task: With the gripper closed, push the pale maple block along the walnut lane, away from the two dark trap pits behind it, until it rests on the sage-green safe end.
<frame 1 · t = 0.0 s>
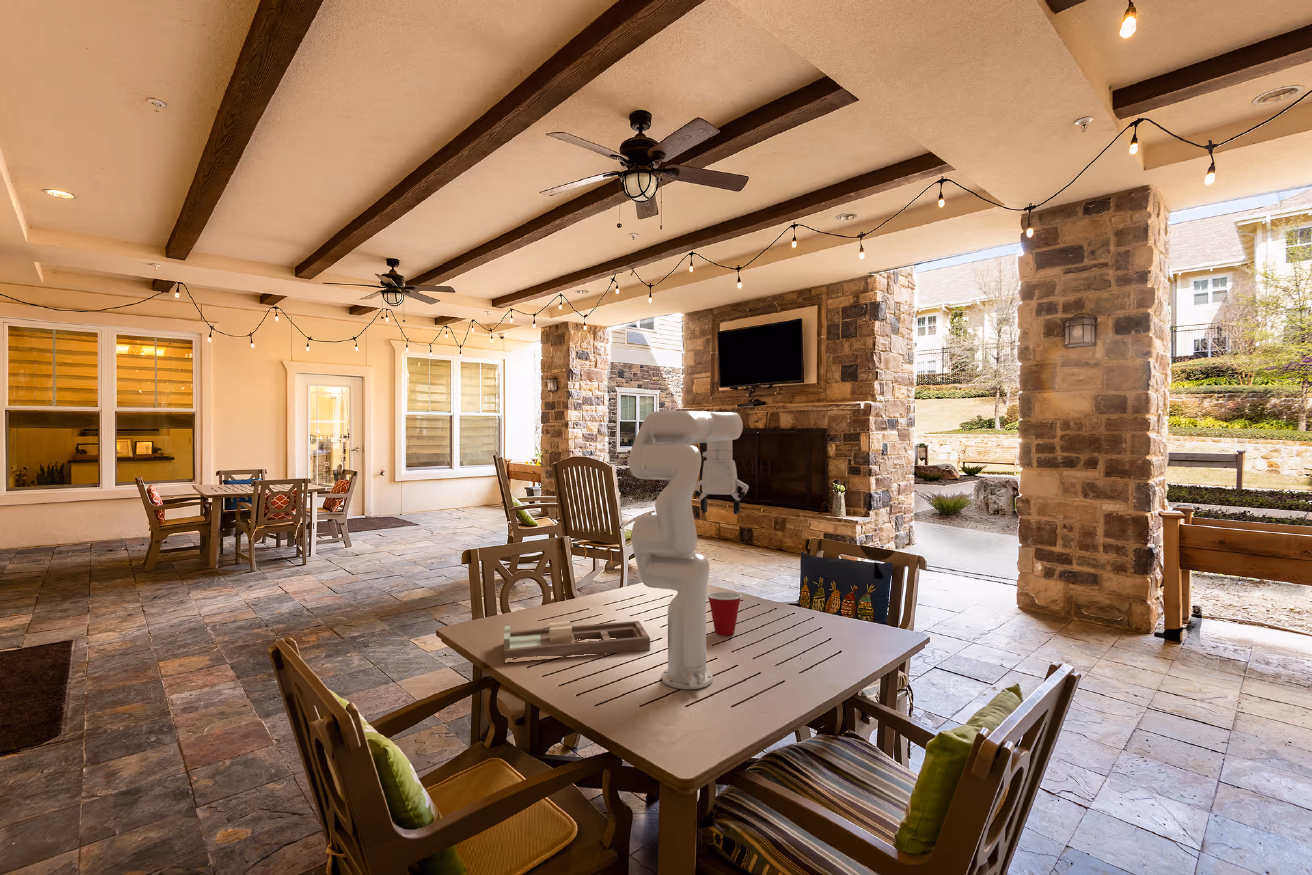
hand: (720, 513, 177), 37 cm above the table, tool pointing down, fingers open, 9 cm apart
maple block: (560, 639, 169), point 2 cm above the table, touching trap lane
plastic cup: (724, 633, 182), on the table
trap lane: (576, 646, 170), on the table
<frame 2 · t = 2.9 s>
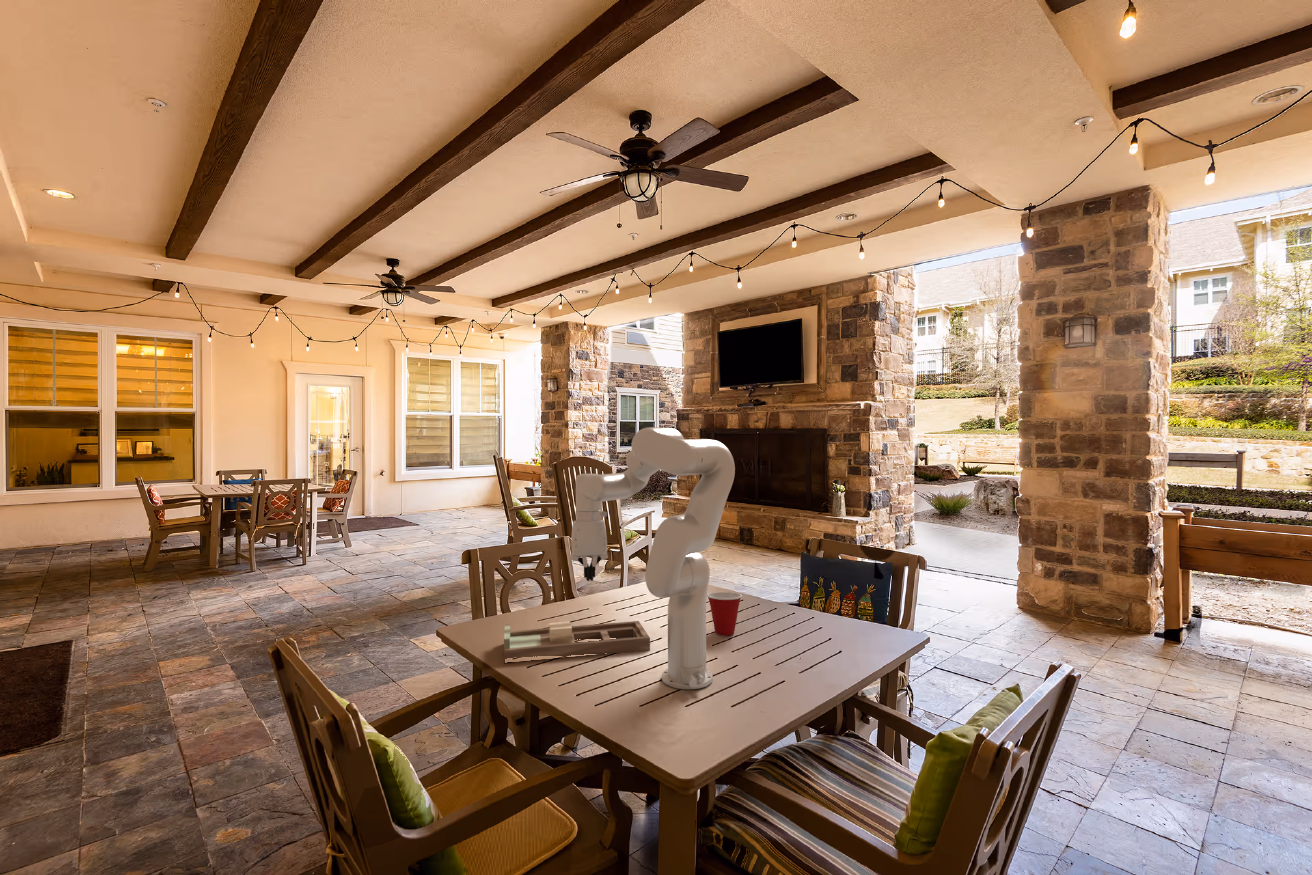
hand: (589, 579, 171), 19 cm above the table, tool pointing down, fingers closed
nothing on the table moved.
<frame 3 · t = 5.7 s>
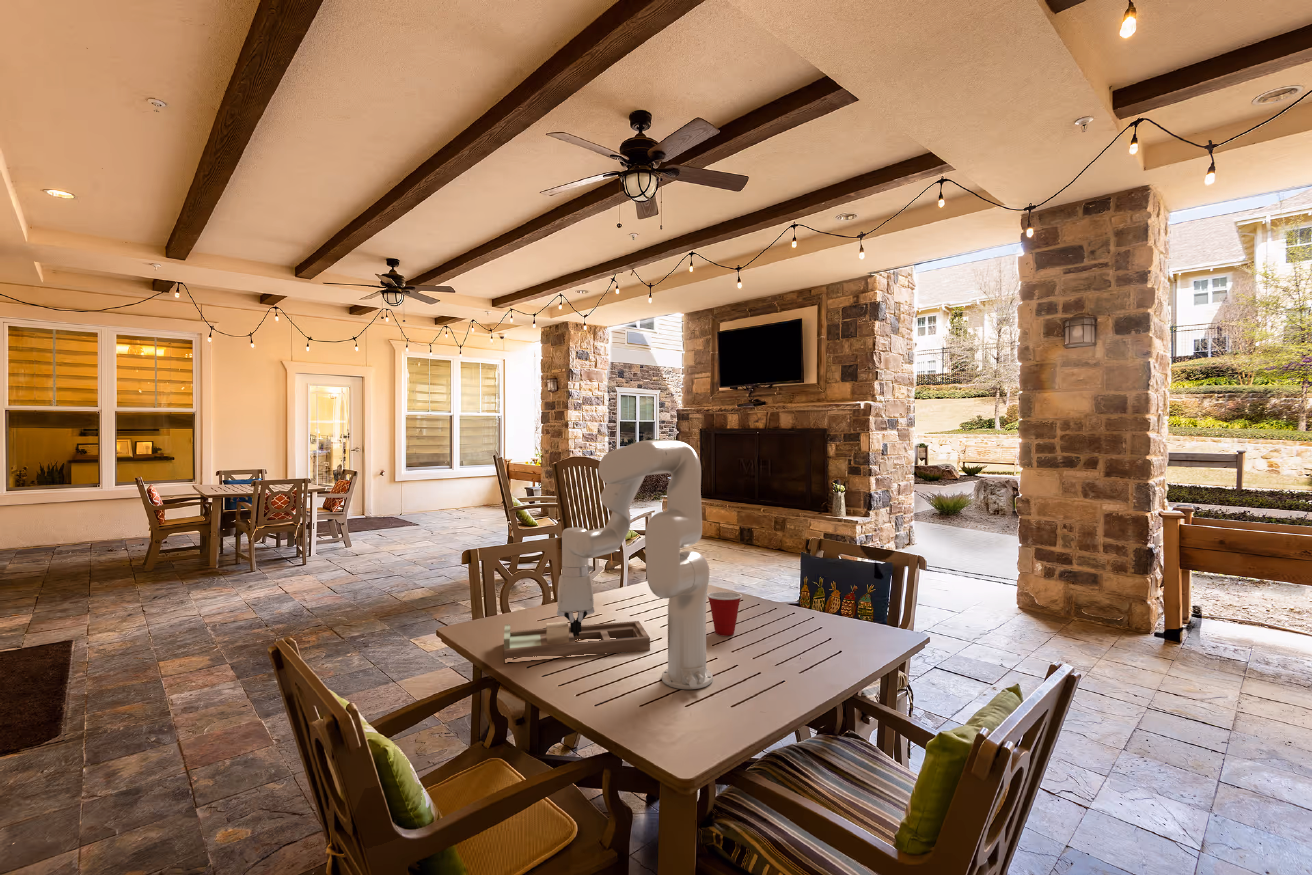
hand: (575, 634, 170), 4 cm above the table, tool pointing down, fingers closed
maple block: (557, 639, 169), point 3 cm above the table, touching gripper
everything else where it was.
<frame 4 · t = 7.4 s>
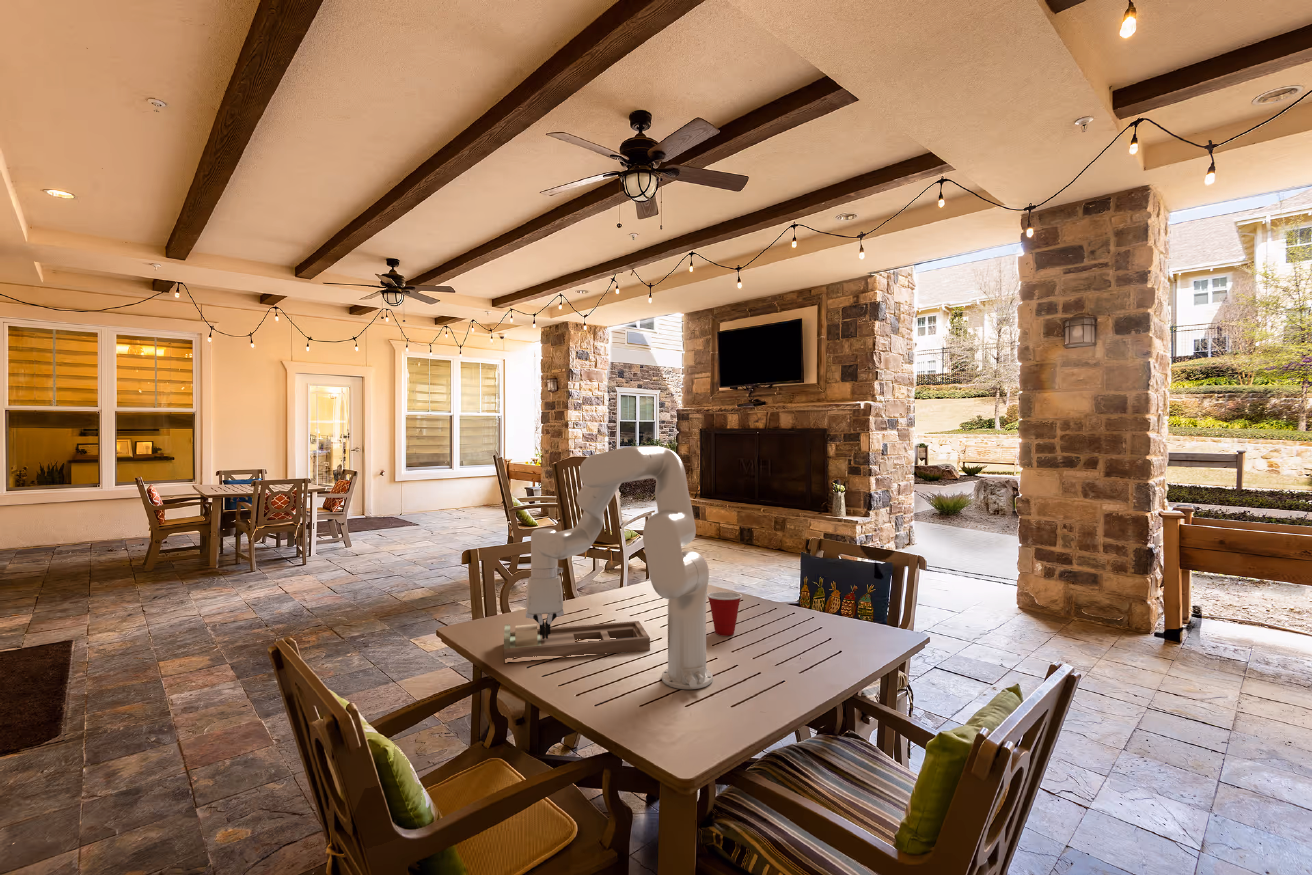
hand: (545, 637, 168), 4 cm above the table, tool pointing down, fingers closed
maple block: (526, 642, 167), point 3 cm above the table, touching gripper, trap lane
everything else where it was.
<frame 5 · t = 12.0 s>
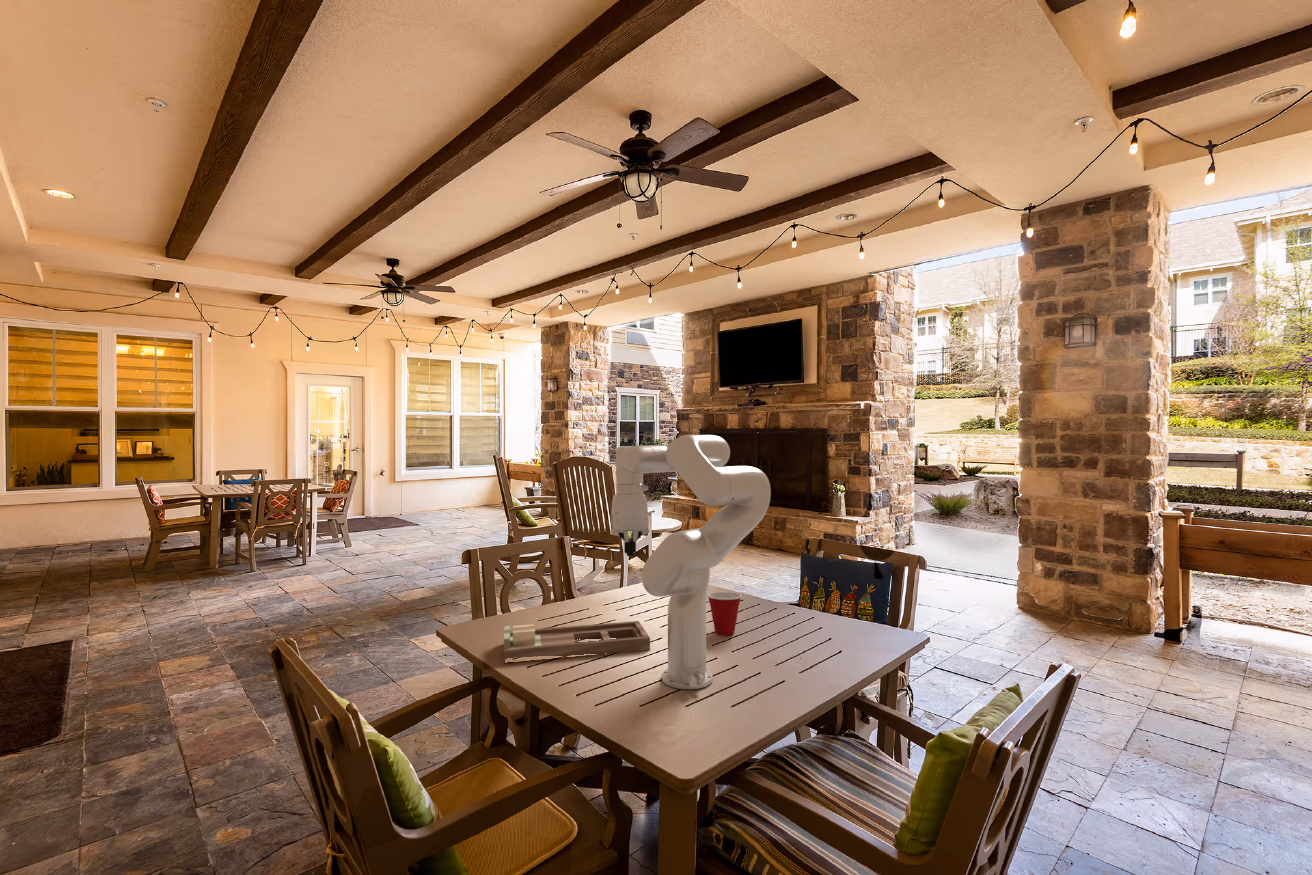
hand: (630, 555, 166), 27 cm above the table, tool pointing down, fingers closed
maple block: (524, 642, 167), point 2 cm above the table, touching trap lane
everything else where it was.
at the end: maple block inside the target area (0.4 cm from its centre), point 2.5 cm above the table; maple block tilted 0° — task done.
